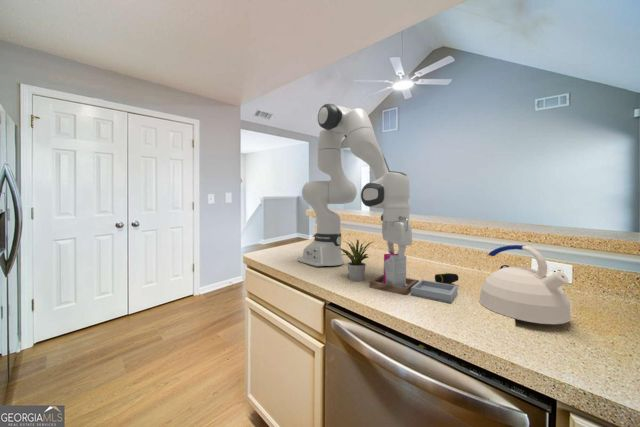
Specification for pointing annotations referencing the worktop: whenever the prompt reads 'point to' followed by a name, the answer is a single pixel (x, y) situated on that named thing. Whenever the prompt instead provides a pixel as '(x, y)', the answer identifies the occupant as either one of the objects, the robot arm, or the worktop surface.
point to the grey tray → (435, 291)
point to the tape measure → (446, 278)
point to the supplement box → (394, 270)
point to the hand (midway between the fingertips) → (395, 255)
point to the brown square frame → (392, 288)
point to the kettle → (526, 291)
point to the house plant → (356, 261)
